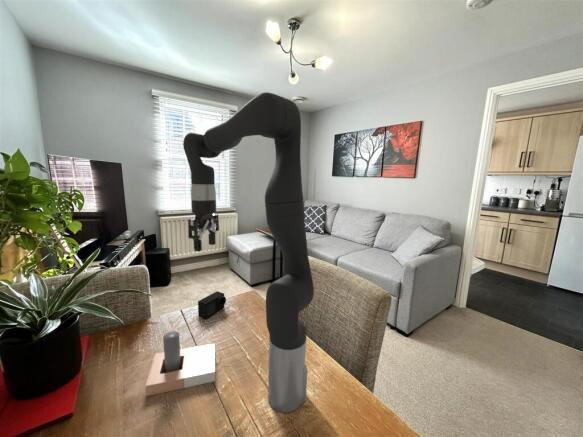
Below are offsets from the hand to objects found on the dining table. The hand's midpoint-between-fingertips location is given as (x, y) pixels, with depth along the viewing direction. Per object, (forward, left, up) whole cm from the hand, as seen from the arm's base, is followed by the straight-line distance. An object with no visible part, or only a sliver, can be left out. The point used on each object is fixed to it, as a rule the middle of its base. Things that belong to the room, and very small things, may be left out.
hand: (205, 247), depth 80 cm
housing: (+6, +14, -33) cm, 36 cm away
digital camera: (-2, -15, -33) cm, 37 cm away
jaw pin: (+9, +14, -33) cm, 37 cm away
